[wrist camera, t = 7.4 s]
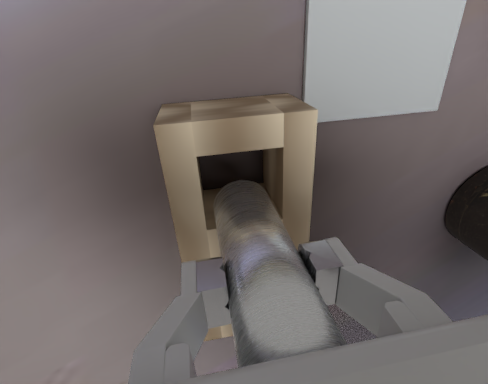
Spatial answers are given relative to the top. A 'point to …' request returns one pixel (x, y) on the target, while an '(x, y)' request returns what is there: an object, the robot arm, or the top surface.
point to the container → (471, 213)
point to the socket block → (230, 141)
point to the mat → (377, 56)
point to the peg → (267, 281)
